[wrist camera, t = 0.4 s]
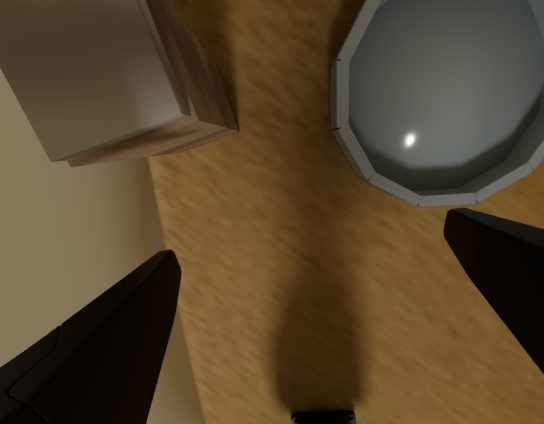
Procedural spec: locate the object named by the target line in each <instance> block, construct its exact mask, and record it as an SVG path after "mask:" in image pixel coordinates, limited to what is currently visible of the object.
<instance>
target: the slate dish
mask: <svg viewBox="0 0 544 424" xmlns="http://www.w3.org/2000/svg"><path fill="white" fill-rule="evenodd" d="M331 66H332V67H331V69H330V82H331V83H330V96H329V104H330V116H331V129H333V130H332V133H333V135H334V136H335V138H336V140H337V142H338V144H339V146H340V148H341V150H342V152H343V154H344V155H345V157H346V158H347V160H348V161H349V163H350V164H351V165H352V167H353V169H354V170H355V172H356V174H357V175H358V177H360V178H361V179H363V180H365V181H366V182H368V183H370V184H372V185H374V186H376V187H378V188H380V189H382V190H384V191H386V192H388V193H390V194H392V195H394V196H396V197H398V198H399V199H401V200H403V201H405V202H408V203H410V204H412V205H414V206H418V207H428V206H444V205H461V204H475V203H476V202H477V203H479V202H480V201H482V200H484V199H486V198H487V197H489V196H491V195H492V194H494V193H496V192H498V191H499V190H501V189H503V188H505V187H506V186H508V185H510V184H512V183H513V182H515V181H517V180H519V179H520V178H522V177H524V176H526V175H527V174H529V173H531V172H533V171H532V169H536V167H537V166H538V165H539V163H540V162H541V161H542V159H543V158H544V0H365V1H364V2H363V4H362V5H361V7H360V9H359V11H358V13H357V15H356V17H355V19H354V21H353V23H352V25H351V27H350V29H349V31H348V33H347V35H346V36H345V38H344V40H343V42H342V45H341V47H340V49H339V51H338V53H337V55H336V57H335V59H334V61H333V63H332V65H331Z"/></svg>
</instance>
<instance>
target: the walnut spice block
mask: <svg viewBox="0 0 544 424" xmlns="http://www.w3.org/2000/svg"><path fill="white" fill-rule="evenodd" d="M0 68H1V70H2V72H3V73H4V75H5V77H6V79H7V81H8V83H9V84H10V86H11V88H12V90H13V92H14V94H15V96H16V98H17V100H18V101H19V103H20V105H21V107H22V109H23V111H24V112H25V114H26V116H27V118H28V120H29V122H30V124H31V126H32V127H33V129H34V131H35V133H36V135H37V137H38V139H39V140H40V142H41V144H42V146H43V148H44V150H45V152H46V154H47V155H48V157H49V159H50V161H51V162H57V161H68V163H69V164H70V166H71V167H75V166H82V165H90V164H97V163H105V162H112V161H120V160H127V159H135V158H142V157H150V156H157V155H165V154H172V153H179V152H183V151H185V150H188V149H191V148H194V147H197V146H199V145H202V144H205V143H208V142H211V141H213V140H216V139H219V138H222V137H225V136H227V135H230V134H233V133H236V132H239V129H238V126H237V123H236V120H235V117H234V114H233V112H232V109H231V106H230V103H229V100H228V98H227V95H226V92H225V89H224V86H223V83H222V81H221V78H220V75H219V72H218V69H217V66H216V64H215V62H214V61H213V59H212V58H211V57H210V55H209V54H208V53H207V51H206V50H205V49H204V47H203V46H202V45H201V43H200V42H199V41H198V39H197V38H196V37H195V35H194V34H193V33H192V31H191V30H190V29H189V27H188V26H187V25H186V23H185V22H184V21H183V19H182V18H181V17H180V15H179V14H178V13H177V11H176V10H175V9H174V7H173V6H172V5H171V3H170V2H169V0H0Z"/></svg>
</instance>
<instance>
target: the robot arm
mask: <svg viewBox="0 0 544 424" xmlns="http://www.w3.org/2000/svg"><path fill="white" fill-rule="evenodd" d="M444 237H445V239H446V241H447V243H448V244H449V246H450V248H451V249H452V251H453V252H454V254H455V256H456V257H457V259H458V261H459V262H460V264H461V265H462V267H463V269H464V270H465V272H466V273H467V275H468V276H469V278H470V279H471V281H472V282H473V283H474V285H475V286H476V287H477V289H478V290H479V291H480V292H481V294H482V295H483V296H484V298H485V299H486V300H487V301H488V303H489V304H490V305H491V307H492V308H493V309H494V311H495V312H496V313H497V314H498V316H499V317H500V318H501V320H502V321H503V322H504V323H505V325H506V326H507V327H508V329H509V330H510V331H511V332H512V334H513V335H514V336H515V338H516V339H517V340H518V342H519V343H520V344H521V345H522V347H523V348H524V349H525V351H526V352H527V353H528V354H529V356H530V357H531V358H532V360H533V361H534V362H535V364H536V365H537V366H538V367H539V369H540V370H541V371H542V373H543V374H544V229H541V228H537V227H534V226H530V225H526V224H523V223H519V222H515V221H511V220H508V219H504V218H500V217H497V216H493V215H489V214H485V213H482V212H478V211H474V210H470V209H467V208H456V209H450V210H449V211H448V212H447V215H446V220H445V226H444ZM180 281H181V268H180V265H179V263H178V260H177V258H176V255H175V253H174V252H173V251H172V250H165V251H160V252H158V253H157V254H155V255H154V256H152V257H151V258H150V259H148V260H147V261H146V262H144V263H143V264H142V265H140V266H139V267H138V268H136V269H135V270H134V271H132V272H131V273H130V274H128V275H127V276H125V277H124V278H123V279H122V280H120V281H119V282H117V283H116V284H115V285H113V286H112V287H111V288H109V289H108V290H107V291H105V292H104V293H102V294H101V295H100V296H98V297H97V298H96V299H94V300H93V301H92V302H90V303H89V304H88V305H86V306H85V307H84V308H82V309H81V310H80V311H78V312H77V313H76V314H74V315H73V316H71V317H70V318H69V319H67V320H66V321H65V322H63V323H62V325H61V326H58V327H56V328H55V329H54V330H52V331H51V332H50V333H49V334H47V335H46V336H44V337H43V338H42V339H40V340H39V341H37V342H36V343H35V344H33V345H32V346H31V347H29V348H28V349H27V350H25V351H24V352H22V353H21V354H19V355H18V356H16V357H15V358H13V359H12V360H10V361H9V362H8V363H6V364H5V365H3V366H2V367H0V424H146V422H147V418H148V414H149V410H150V407H151V403H152V400H153V396H154V392H155V389H156V384H157V381H158V378H159V374H160V370H161V366H162V363H163V359H164V355H165V351H166V348H167V344H168V341H169V337H170V333H171V330H172V326H173V322H174V318H175V313H176V308H177V301H178V295H179V288H180ZM291 420H292V424H356V417H355V413H354V412H353V411H335V412H313V413H295V414H293V415H292V416H291Z"/></svg>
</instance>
